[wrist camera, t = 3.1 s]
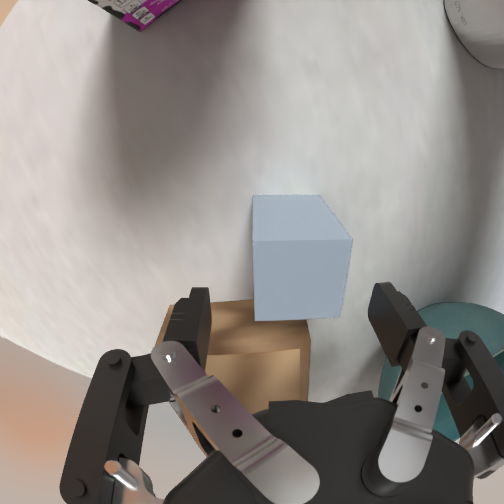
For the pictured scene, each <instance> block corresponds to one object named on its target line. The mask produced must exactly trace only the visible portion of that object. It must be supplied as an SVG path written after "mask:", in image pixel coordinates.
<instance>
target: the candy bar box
mask: <svg viewBox="0 0 504 504" xmlns="http://www.w3.org/2000/svg"><path fill="white" fill-rule="evenodd" d="M88 1H90V2H91V3H93V4H95V5H97V6H99V7H101V8H102V9H104V10H106V11H107V12H109V13H110V14H112V15H113V16H115V17H117V18H119V19H120V20H122V21H124V22H125V23H126V24H128V25H129V26H131V27H133V28H134V29H136V30H138V31H142V30H143V29H145V28H146V27H147V26H148V25H149V24H151V23H152V22H153V21H154V20H156V19H157V18H158V17H159V16H161V15H162V14H163V13H165V12H166V11H168V10H169V9H170V8H172V7H173V6H174V5H176V4H177V3H179V2H180V1H182V0H88Z"/></svg>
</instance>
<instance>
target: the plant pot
mask: <svg viewBox="0 0 504 504" xmlns="http://www.w3.org/2000/svg"><path fill="white" fill-rule="evenodd" d="M418 313H419V315H420V316H421V318H422V319H423V321H424V322H425V324H426V325H427V327H434V328H436V329H438V330H440V331H441V332H442V333H443V335H444V336H445V338H451V339H457V338H458V336H459V334H460V333H461V332H462V331H465V330H469V331H472V332H474V333H476V334H477V335H478V336H479V337H480V338H481V340H482V341H483V342H484V344H485V345H486V347H487V349H488V350H489V352H490V353H491V355H492V356H493V358H494V359H495V361H496V363H497V364H498V366H499V368H500V369H501V371H502V373H503V374H504V314H502V313H500V312H498V311H495V310H493V309H490V308H487V307H484V306H481V305H477V304H472V303H464V302H449V303H437V304H433V305H430V306H427V307H425V308H423V309H421V310H419V311H418ZM401 369H402V367H401V366H395V367H391V365H390V362H389V360H388V358H387V357H386V360H385V363H384V366H383V370H382V374H381V379H380V384H379V391H378V398H381V399H385V400H388V401H389V400H390V397H391V395H392V392H393V389H394V387H395V384H396V381H397V379H398V376H399V373H400V371H401ZM464 377H465V378H466V380H467V382H468V384H469V386H470V388H471V390H472V389H473V380H472V378H471V376H470V374H469V372H468V370H467V372H466V373H465V375H464ZM433 429H435V430H436V431H438V432H440V433H441V434H443V435H444V436H446V437H448V438H449V439H451V440H452V441H456V440H457V439H459V438H460V435H459V432H458V430H457V427H456V424H455V422H454V419H453V417H452V414H451V412H450V409H449V407H448V405H447V402H446V400H445V398H444V395H443V393H442V391H441V396H440V400H439V405H438V409H437V413H436V417H435V421H434V425H433Z"/></svg>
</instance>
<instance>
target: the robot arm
mask: <svg viewBox="0 0 504 504" xmlns="http://www.w3.org/2000/svg"><path fill="white" fill-rule="evenodd" d="M444 2H445V9H446V12H447V16H448V18H449V21H450V23H451V25H452V27H453V29H454V31H455V33H456V35H457V36H458V38H459V39H460V41H461V42H462V44H463V45H464V46H465V47H466V49H467V50H468V51H469V52H470V53H471V54H472V55H473V56H474V57H475V58H476V59H477V60H478V61H480V62H481V63H482V64H484V65H486V66H488V67H491V68H504V0H444ZM411 304H412V303H411V302H410V301H409V299H408V298H407V297H406V296H405V295H403V294H402V293H401V292H399V291H398V292H397V290H396V289H395V288H394V286H393V285H392V284H391V283H390V282H386V283H376V284H375V285H374V288H373V292H372V296H371V300H370V304H369V308H368V318H369V321H370V323H371V325H372V327H373V329H374V331H375V333H376V335H377V337H378V339H379V341H380V343H381V345H382V347H383V350H384V352H385V354H386V356H387V358H388V360H389V362H390V365H391V367H395V366H401V367H402V369H401V371H400V373H399V376H398V379H397V381H396V384H395V387H394V389H393V392H392V395H391V397H390V400H389V401H388V400H385V399H381V398H374V397H373V394H372V391H365V392H359V393H353V394H347V395H345V396H342V397H339V398H337V399H334V400H331V401H328V402H325V403H317V402H308V401H300V400H286V401H269V404H268V409H265V410H262V411H259V412H256V413H254V414H252V415H251V414H250V413H249V412H248V411H247V410H246V409H245V408H244V406H243V405H242V404H241V403H240V402H239V401H238V400H237V399H236V398H235V397H234V396H233V395H232V394H231V393H230V392H229V391H228V389H227V388H226V387H225V386H224V385H223V384H222V383H221V382H220V381H219V380H218V378H216V377H215V376H213V375H212V376H210V377H209V376H208V375H207V374H206V373H205V368H206V361H207V354H208V347H209V340H210V333H211V326H212V313H211V305H210V296H209V289H208V287H192V289H191V292H190V296H189V298H181V299H180V300H179V301H178V302H177V303H176V304H175V305H174V308H173V311H172V314H171V317H170V320H169V323H168V326H167V329H166V332H165V335H164V338H163V341H162V342H161V343H159V344H158V345H156V346H155V347H154V348H153V349H152V351H151V353H150V354H147V355H143V356H137V357H130V355H129V353H128V352H126V351H124V350H121V349H115V350H111V351H108V352H106V353H105V354H104V355H103V356H102V357H101V358H100V360H99V362H98V365H97V367H96V370H95V373H94V375H93V378H92V381H91V383H90V386H89V389H88V392H87V394H86V397H85V400H84V403H83V405H82V408H81V411H80V414H79V417H78V421H77V424H76V427H75V430H74V433H73V436H72V440H71V443H70V447H69V450H68V454H67V458H66V461H65V465H64V469H63V473H62V477H61V482H60V493H61V496H62V498H63V500H64V501H65V502H66V503H67V504H473V496H472V493H473V492H472V491H473V489H472V488H473V480H474V478H476V477H477V478H480V479H483V478H486V477H488V476H489V475H490V474H492V473H493V472H495V471H496V470H497V469H499V468H500V467H502V466H503V465H504V374H503V373H502V371H501V369H500V368H499V366H498V364H497V363H496V361H495V359H494V358H493V356H492V355H491V353H490V352H489V350H488V349H487V347H486V345H485V344H484V342H483V341H482V340H481V338H480V337H479V336H478V335H477V334H476V333H474V332H472V331H469V330H465V331H462V332H461V333H460V334H459V336H458V338H457V339H451V338H445V336H444V335H443V333H442V332H441V331H440V330H438V329H436V328H434V327H427V325H426V324H425V322H424V321H423V319H422V318H421V316H420V315H419V313H418V312H417V311H416V310H415V308H414V306H413V305H411ZM467 370H468V372H469V374H470V376H471V378H472V380H473V389H472V390H471V388H470V386H469V384H468V382H467V380H466V378H465V377H464V375H465V373H466V372H467ZM441 391H442V393H443V395H444V398H445V400H446V402H447V405H448V407H449V409H450V412H451V414H452V417H453V419H454V422H455V424H456V427H457V430H458V432H459V435H460V442H459V444H457V443H456V442H454V441H452V440H451V439H449V438H448V437H446V436H444V435H443V434H441V433H440V432H438V431H436V430H435V429H433V425H434V421H435V417H436V413H437V409H438V405H439V400H440V396H441ZM167 401H169V403H170V404H171V406H172V407H173V409H174V410H175V412H176V413H177V415H178V416H179V418H180V419H181V421H182V422H183V423H184V425H185V426H186V428H187V429H188V430H189V432H190V433H191V435H192V437H193V439H194V440H195V441H196V443H197V445H198V446H199V447H200V449H201V450H202V451H203V453H204V454H205V455H206V456H207V458H206V459H205V460H204V461H203V462H202V463H201V464H199V466H197V467H196V468H195V469H194V470H193V471H192V472H191V473H190V474H189V475H188V476H187V477H186V478H184V479H183V480H182V481H181V482H180V483H179V484H178V485H177V486H175V487H174V488H173V489H172V490H171V491H170V492H169V493H168V495H167V496H166V498H165V499H164V500H163V499H159V498H157V497H156V496H155V494H154V492H153V485H152V481H151V479H150V477H149V476H148V475H147V474H146V473H145V472H144V471H143V470H142V469H141V468H140V467H139V461H140V454H141V448H142V442H143V435H144V430H145V424H146V418H147V413H148V407H149V405H150V404H156V403H162V402H167Z"/></svg>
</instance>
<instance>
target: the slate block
mask: <svg viewBox="0 0 504 504" xmlns="http://www.w3.org/2000/svg"><path fill="white" fill-rule="evenodd" d="M352 242H353V239H352V237H351V236H350V235H349V233H348V232H347V231H346V229H345V228H344V226H343V225H342V224H341V222H340V221H339V220H338V218H337V217H336V216H335V214H334V213H333V212H332V210H331V209H330V208H329V206H328V205H327V204H326V203H325V201H324V200H323V199H322V197H321V196H320V195H253V233H252V244H253V277H254V311H255V321H277V320H302V319H320V318H335V317H340V315H341V310H342V304H343V299H344V293H345V288H346V282H347V276H348V270H349V263H350V256H351V249H352Z"/></svg>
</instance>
